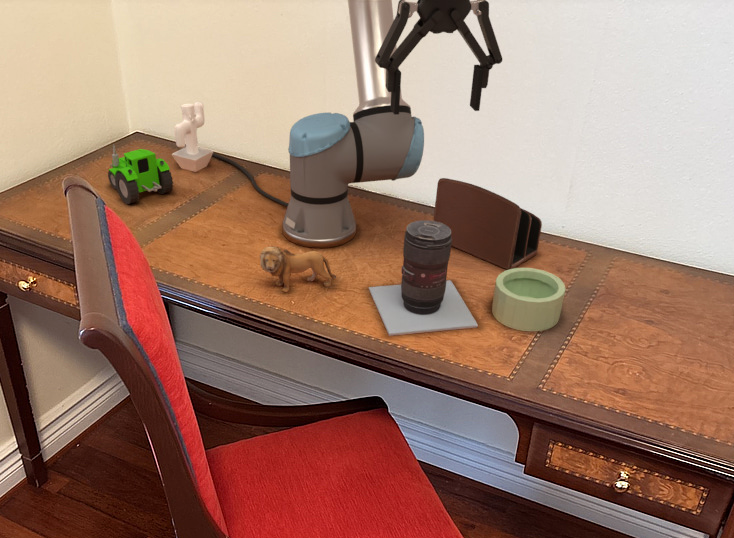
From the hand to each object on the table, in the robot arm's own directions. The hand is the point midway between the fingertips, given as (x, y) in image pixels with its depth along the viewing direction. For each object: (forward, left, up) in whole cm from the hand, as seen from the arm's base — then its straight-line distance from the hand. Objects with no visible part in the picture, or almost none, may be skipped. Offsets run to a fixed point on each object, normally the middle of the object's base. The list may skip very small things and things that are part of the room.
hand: (434, 110), depth 131 cm
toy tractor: (-51, -52, -33) cm, 80 cm away
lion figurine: (-3, -23, -33) cm, 40 cm away
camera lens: (+8, -2, -32) cm, 33 cm away
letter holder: (-13, +17, -33) cm, 39 cm away
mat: (+8, -2, -33) cm, 34 cm away
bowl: (+13, +16, -33) cm, 39 cm away
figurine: (-64, -39, -33) cm, 82 cm away
